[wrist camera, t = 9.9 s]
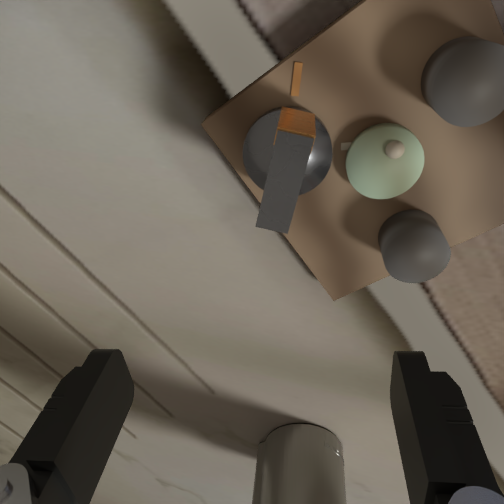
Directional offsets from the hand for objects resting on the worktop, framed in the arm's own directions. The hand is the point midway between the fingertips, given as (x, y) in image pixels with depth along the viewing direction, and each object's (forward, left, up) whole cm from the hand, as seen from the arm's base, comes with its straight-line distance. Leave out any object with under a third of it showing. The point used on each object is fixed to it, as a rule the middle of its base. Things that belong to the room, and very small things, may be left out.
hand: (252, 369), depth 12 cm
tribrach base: (+5, -4, -22) cm, 23 cm away
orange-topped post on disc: (0, 0, -20) cm, 20 cm away
